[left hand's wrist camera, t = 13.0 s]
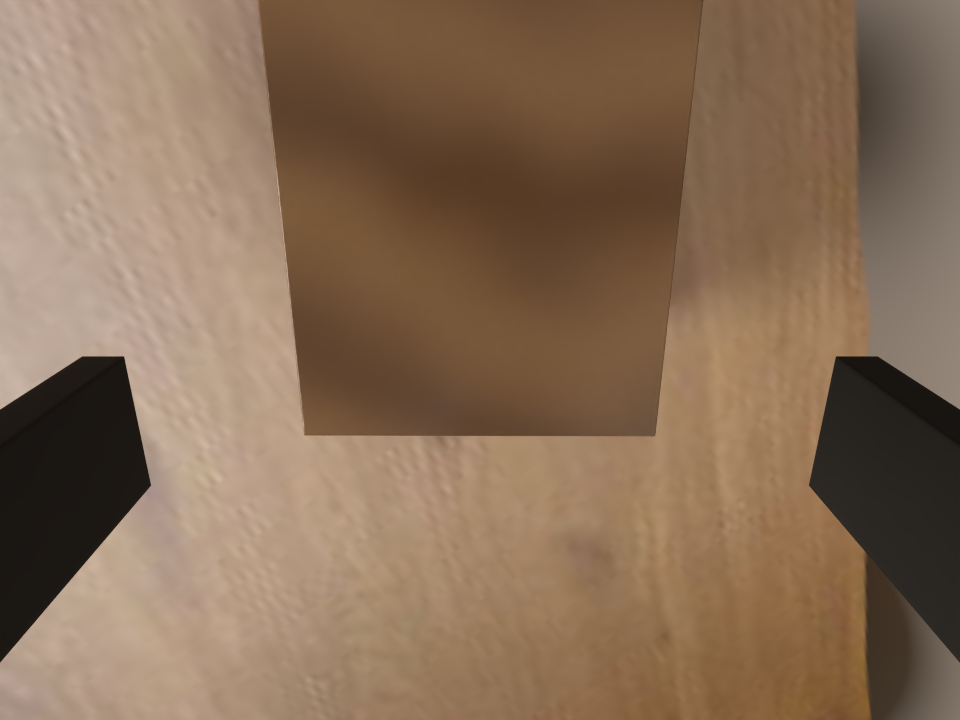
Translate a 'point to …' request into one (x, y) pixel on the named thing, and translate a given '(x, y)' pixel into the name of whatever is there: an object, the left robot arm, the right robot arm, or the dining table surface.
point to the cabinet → (480, 209)
